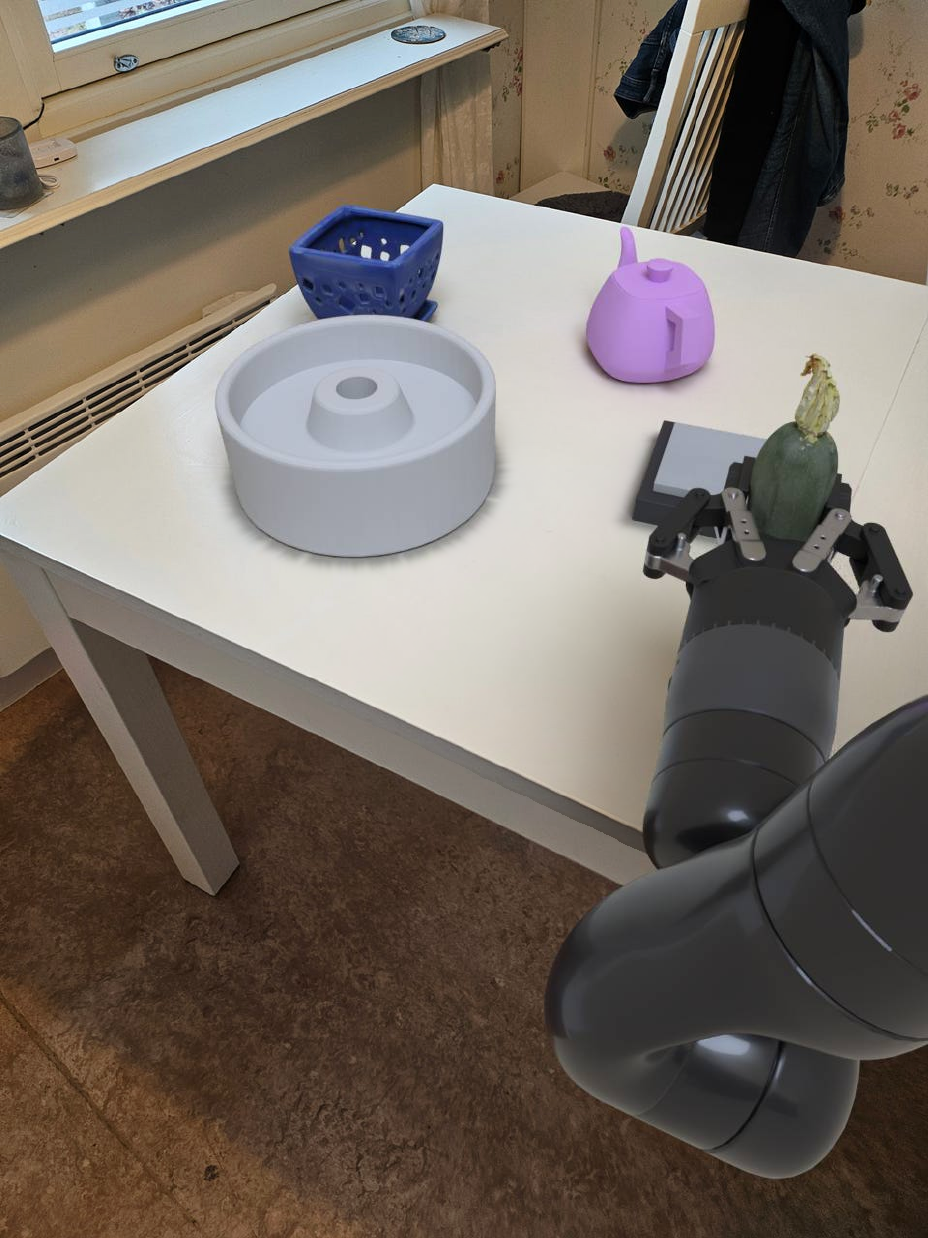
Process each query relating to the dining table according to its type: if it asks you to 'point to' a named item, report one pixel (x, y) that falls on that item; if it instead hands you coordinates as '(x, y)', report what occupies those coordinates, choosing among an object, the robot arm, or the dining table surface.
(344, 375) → the container
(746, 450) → the scale
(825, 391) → the vegetable
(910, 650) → the dining table surface
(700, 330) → the teapot
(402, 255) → the flower pot
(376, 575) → the dining table surface
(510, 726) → the dining table surface
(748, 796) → the robot arm
